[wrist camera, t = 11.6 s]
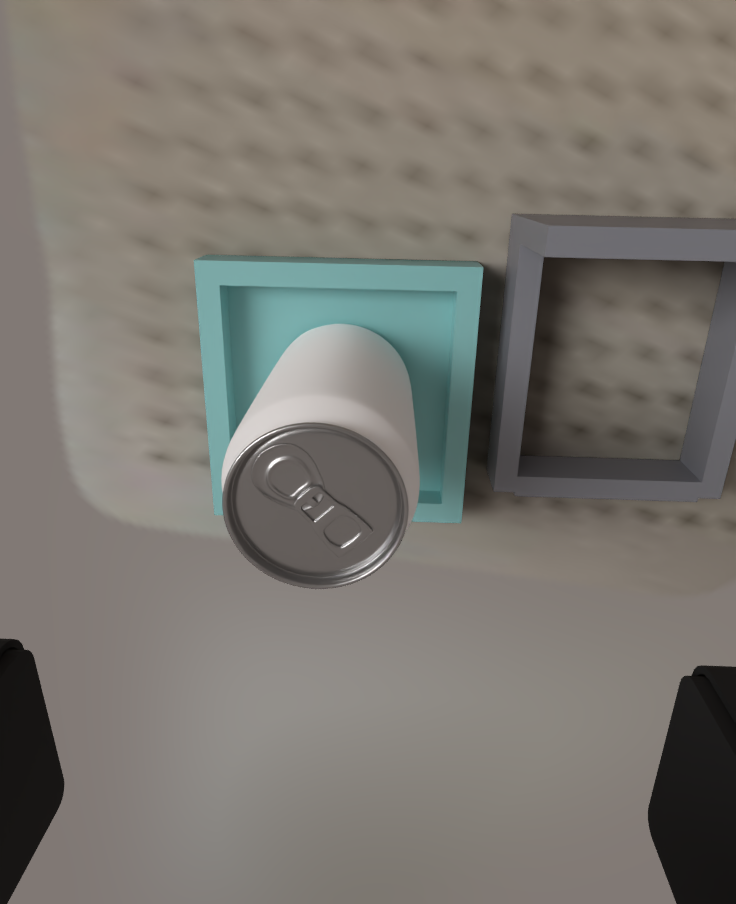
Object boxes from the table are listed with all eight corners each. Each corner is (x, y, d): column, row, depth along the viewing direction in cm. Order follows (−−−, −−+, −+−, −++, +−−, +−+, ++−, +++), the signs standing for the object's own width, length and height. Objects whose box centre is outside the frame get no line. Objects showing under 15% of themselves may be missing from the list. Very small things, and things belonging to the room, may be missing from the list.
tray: (477, 261, 29) (483, 267, 27) (457, 503, 33) (461, 523, 32) (206, 254, 29) (193, 260, 27) (224, 496, 34) (214, 515, 32)
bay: (758, 219, 28) (869, 232, 21) (695, 479, 32) (771, 554, 26) (512, 213, 28) (548, 225, 22) (486, 472, 33) (509, 546, 26)
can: (345, 290, 29) (317, 362, 18) (439, 395, 31) (468, 519, 20) (244, 384, 31) (162, 502, 20) (338, 478, 32) (312, 634, 21)
